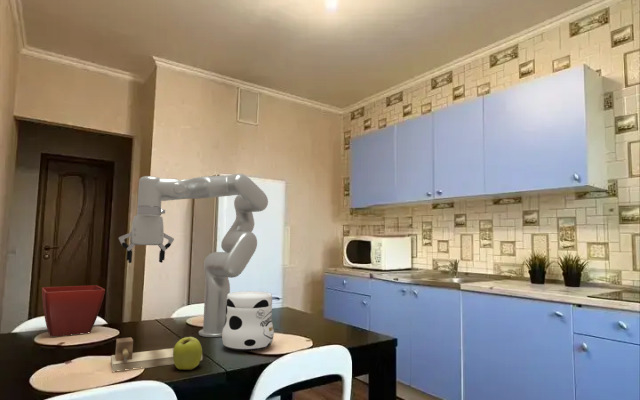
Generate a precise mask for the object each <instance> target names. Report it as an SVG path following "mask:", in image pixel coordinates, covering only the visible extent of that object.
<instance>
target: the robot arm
mask: <svg viewBox="0 0 640 400" xmlns="http://www.w3.org/2000/svg"><path fill="white" fill-rule="evenodd" d="M137 193H138V195H137V208H136V215H134V216H133V219H132V222H131V229H130V232H129V233H126V234H123V235H121V236H119V237H118V240H119V242H120V244H121V246H122V247H123V248H124V249H125V250H126V261H128V263H129V264H131V263H133V261H132V260H133V250H132V249H133V248H135V246H158V248H159V249H160V250H159V254H158V255H159V256H158V262H159V263H164V262H163V261H165V256H166V251H167V250H168V249H169V248H170V247H171V245H172V244H173V242H174V241H175V238H174V237H172V236H170V235H168V234H167V233H164V230H165V229H164V218H163V216H161V215H165V214H166V209H163V208H162V202H166V201H175V200H176V201H177V200H188V199H189V200H190V199H197V200H199V199H209V198H220V197H221V198H222V197H231V196H235V198H234V200H233V204H234V205H233V206H234V209H235V219H234V222H233V223H232V225H231V226H230V228H229V230H228V231H227V232H226V234H225V235H224V237H223V238H222V240H221V244H220V245H221V246H220V247H221V249H222V250H223V251H214V252H211V253H209V254H208V255H207V256H206V257H205V259H204V262H203V273H204V280H205V282H204V287H205V288H204V301H203V302H204V303H203V305H204V307H203V323H202V324H203V325H202V329H200V330H198V335H199V336H201V337H205V338H220V337H221V338H222V331H223V327H224V324H225V320H226V305H227V304H226V300H227V295H228V294H229V293H231V286H230V285H231V284H230V280H229V278H236V277H238V276H239V275H241V274H242V273H243V271H244V270H245V269H246V267H247V265H248V263H249V262H250V261H251V259H252V257H253V256H254V254H255V252H256V250H257V247H258V239H257V236H256V235H255V234H254V233H253V231H254V227H255V219H254V214H253V213H257V212H263V211H264V210H266V209H267V207H268V204H269V199H268V197H267V196H268V195H266V193H265V192H264V191H263V190H262V189H261V187H259V186H258V185H257V184H256V183H255V182H254V181H253V180H252V179H251V178H250V177H248V176H247V175H246V174H243V173H236V174H235V173H234V174H228V175H212V176H211V175H209V176H206V175H205V176H198V177H192V178H188V179H177V178H160V177H158V176H150V175H144V176H142V177H139V180H138V191H137ZM128 238H130V239H129V241H130V244H127V243H126V241H125V240H126V239H128ZM164 239H166V240H167V243H166V244H165V245H164V244H163V243H164Z"/></svg>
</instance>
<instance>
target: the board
mask: <svg viewBox="0 0 640 400" xmlns="http://www.w3.org/2000/svg"><path fill="white" fill-rule="evenodd" d="M173 350H174V347H172V348H162V349H155V350H148V351H147V350H146V351H137V352H132V359H130V360H127V361H124V360H122V361H116V358H115V354H112V355H110V365H112V367H111V371H112V370H113V371H117V370H125V369H133V368H141V367H144V368H143V369H147V368H148V369H149V368H154V367H162V366H163V367H164V366H169V365H170V366H171V365H175V364H174V359H173ZM203 354H204V353H203V352H202V356H201V360H200V362H201V361H203Z"/></svg>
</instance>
